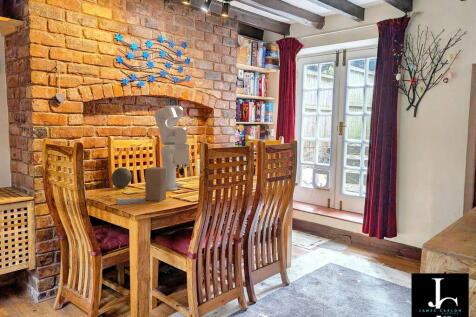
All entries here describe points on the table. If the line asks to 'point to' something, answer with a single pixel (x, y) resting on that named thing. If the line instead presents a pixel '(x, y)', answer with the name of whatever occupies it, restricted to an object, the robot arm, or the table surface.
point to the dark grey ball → (121, 177)
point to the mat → (131, 201)
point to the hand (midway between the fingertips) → (181, 174)
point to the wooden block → (155, 184)
